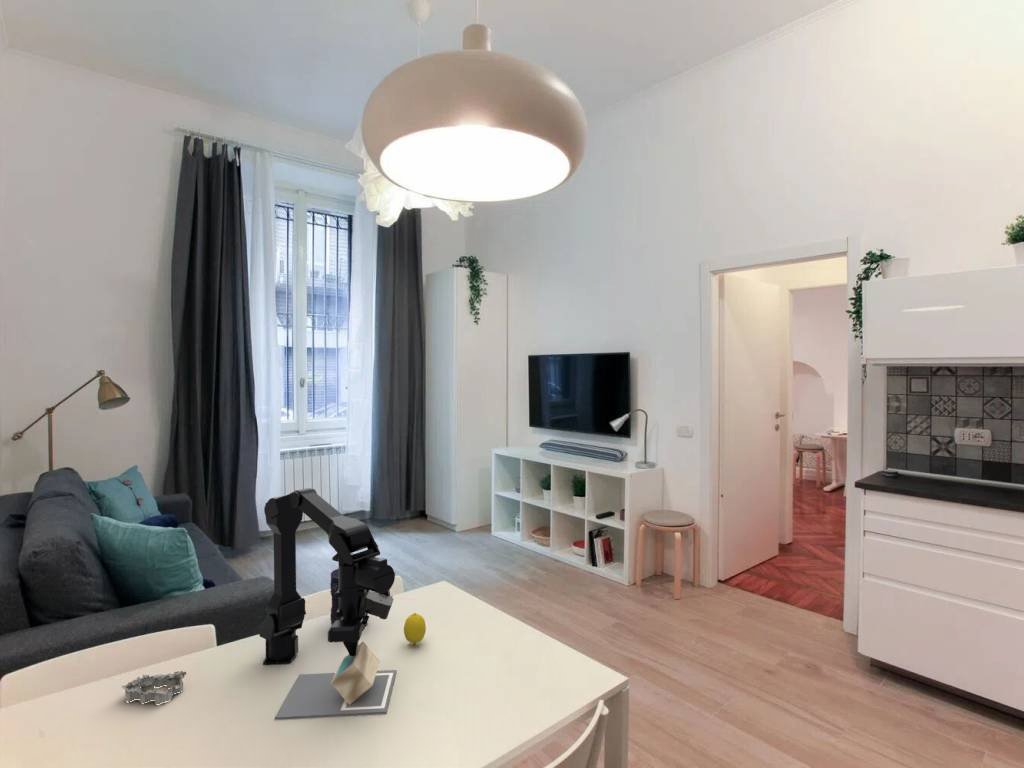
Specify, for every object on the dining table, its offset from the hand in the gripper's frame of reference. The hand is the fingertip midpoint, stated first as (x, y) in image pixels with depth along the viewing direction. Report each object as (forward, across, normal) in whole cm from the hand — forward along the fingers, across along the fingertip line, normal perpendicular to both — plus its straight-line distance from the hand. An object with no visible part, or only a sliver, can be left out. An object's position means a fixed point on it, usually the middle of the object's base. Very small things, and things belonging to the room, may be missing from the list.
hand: (353, 655), depth 118 cm
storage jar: (+8, +33, +8) cm, 35 cm away
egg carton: (+8, +3, +43) cm, 44 cm away
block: (+1, 0, +1) cm, 2 cm away
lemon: (+8, +21, -11) cm, 25 cm away
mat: (+8, 0, +3) cm, 9 cm away
